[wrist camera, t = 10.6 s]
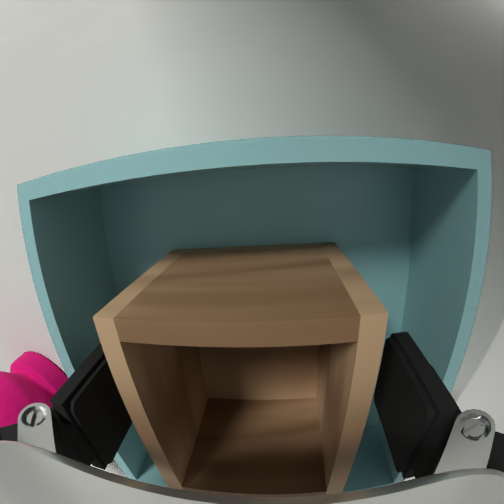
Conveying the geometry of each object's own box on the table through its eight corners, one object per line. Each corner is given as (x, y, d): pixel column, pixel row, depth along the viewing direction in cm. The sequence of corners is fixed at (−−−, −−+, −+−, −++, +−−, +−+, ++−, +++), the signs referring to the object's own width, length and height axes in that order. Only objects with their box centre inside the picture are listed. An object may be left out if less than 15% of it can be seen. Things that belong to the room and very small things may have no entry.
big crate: (95, 175, 12) (16, 184, 7) (417, 153, 10) (490, 150, 5) (156, 424, 16) (130, 482, 11) (381, 423, 14) (400, 485, 9)
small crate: (173, 249, 12) (92, 316, 6) (334, 242, 11) (388, 313, 5) (201, 397, 14) (170, 490, 8) (325, 397, 13) (340, 495, 7)
